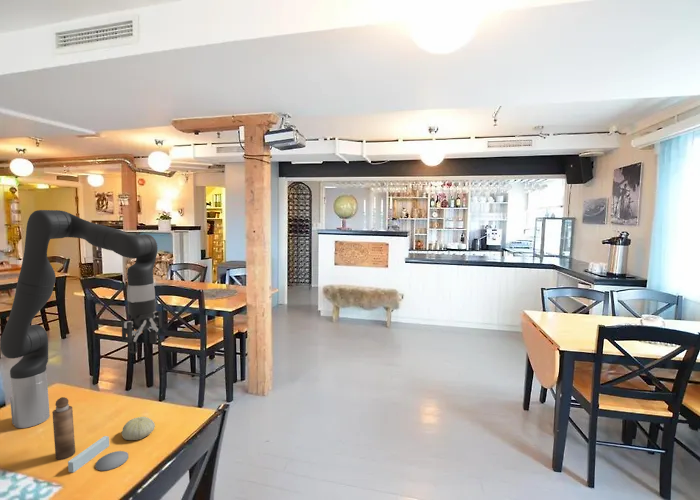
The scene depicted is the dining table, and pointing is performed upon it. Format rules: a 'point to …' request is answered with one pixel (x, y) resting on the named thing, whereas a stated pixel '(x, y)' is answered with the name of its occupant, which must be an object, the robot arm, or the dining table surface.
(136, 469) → the dining table surface
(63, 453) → the pepper mill
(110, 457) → the gray pad
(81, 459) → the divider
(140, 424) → the sea urchin shell
